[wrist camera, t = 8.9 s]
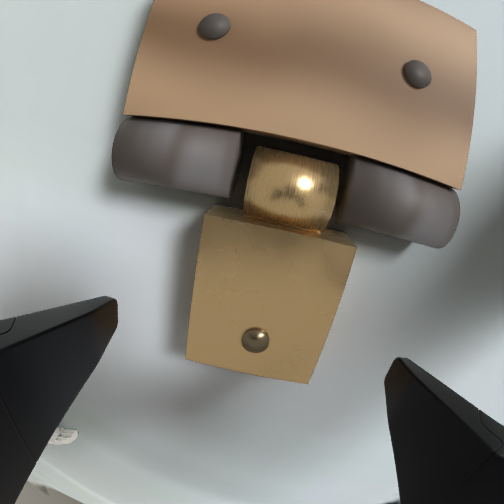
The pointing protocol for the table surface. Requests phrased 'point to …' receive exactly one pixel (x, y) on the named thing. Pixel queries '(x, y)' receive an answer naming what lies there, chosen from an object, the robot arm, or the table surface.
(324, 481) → the table surface
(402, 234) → the tan flat piece
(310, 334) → the tan knobbed block
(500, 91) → the table surface
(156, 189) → the table surface
